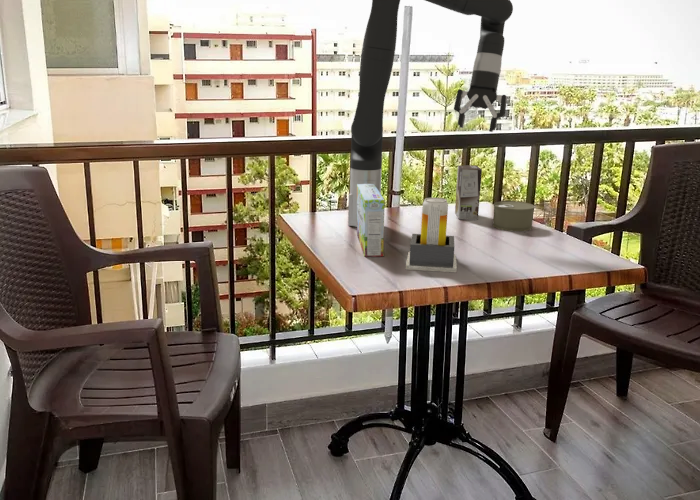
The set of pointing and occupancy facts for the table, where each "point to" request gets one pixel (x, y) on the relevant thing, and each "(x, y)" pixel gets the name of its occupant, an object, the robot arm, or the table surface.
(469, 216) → the coffee box
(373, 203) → the snack box
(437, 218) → the beer can
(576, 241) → the table surface
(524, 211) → the grey round container
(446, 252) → the can holder
